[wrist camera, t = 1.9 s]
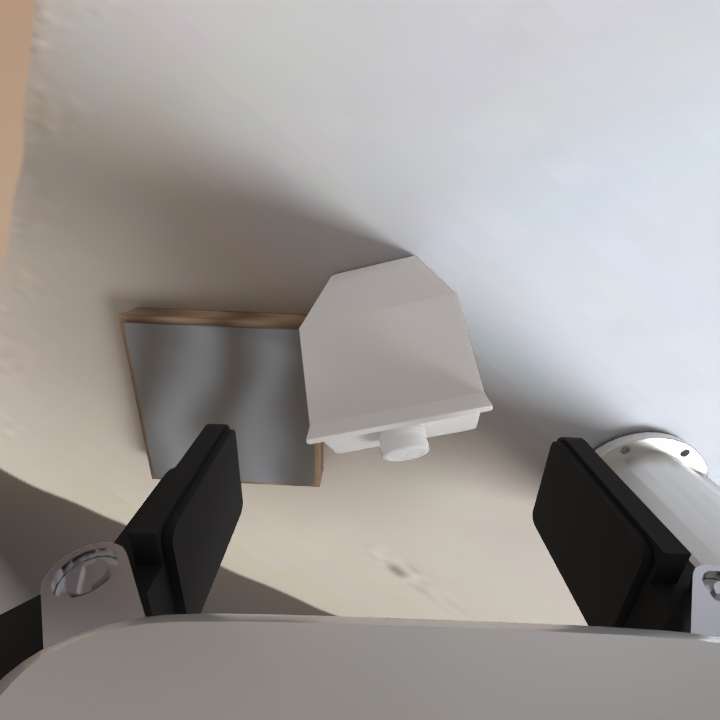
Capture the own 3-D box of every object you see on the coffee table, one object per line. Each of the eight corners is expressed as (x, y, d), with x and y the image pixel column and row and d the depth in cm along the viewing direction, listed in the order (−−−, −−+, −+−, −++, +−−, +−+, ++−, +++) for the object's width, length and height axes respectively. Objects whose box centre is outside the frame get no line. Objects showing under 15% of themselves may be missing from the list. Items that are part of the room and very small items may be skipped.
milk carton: (331, 274, 31) (278, 358, 13) (416, 254, 30) (482, 315, 12) (351, 353, 33) (330, 513, 16) (430, 336, 33) (502, 484, 15)
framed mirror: (323, 315, 32) (318, 325, 29) (322, 469, 38) (319, 489, 35) (137, 307, 32) (115, 316, 30) (166, 461, 38) (149, 481, 35)
